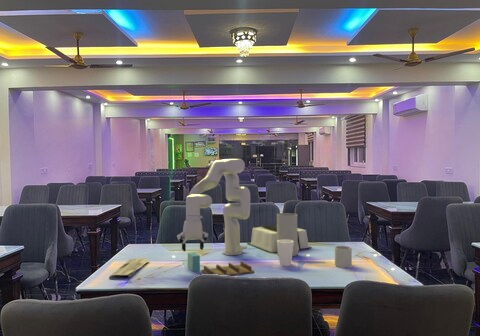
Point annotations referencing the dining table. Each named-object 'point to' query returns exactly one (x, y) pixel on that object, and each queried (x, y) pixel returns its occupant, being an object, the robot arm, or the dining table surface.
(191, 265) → the block
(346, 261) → the mug
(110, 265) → the dining table surface
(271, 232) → the cake box
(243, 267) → the rack
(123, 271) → the newspaper
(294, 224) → the cylinder vase
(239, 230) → the robot arm
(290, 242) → the foam cup
